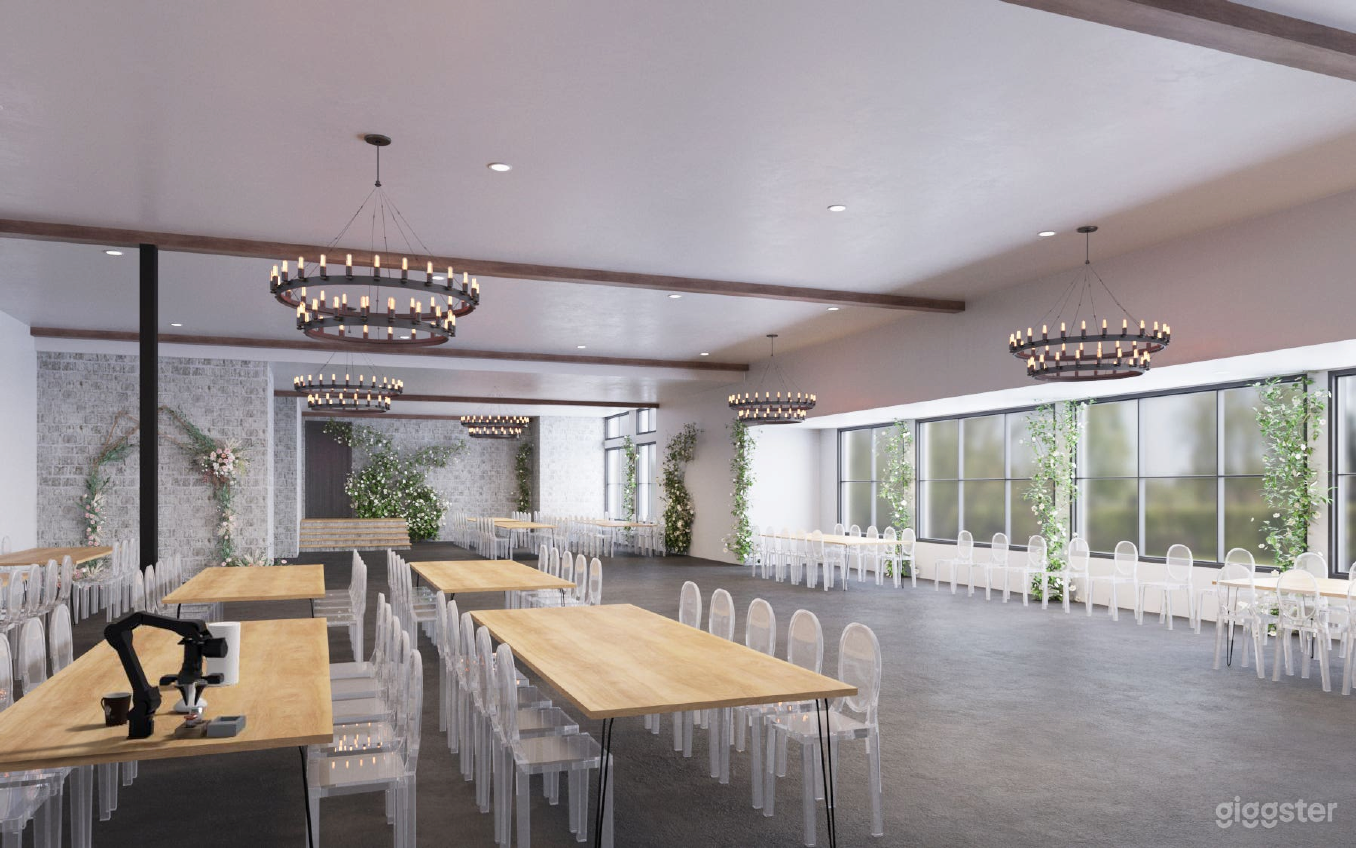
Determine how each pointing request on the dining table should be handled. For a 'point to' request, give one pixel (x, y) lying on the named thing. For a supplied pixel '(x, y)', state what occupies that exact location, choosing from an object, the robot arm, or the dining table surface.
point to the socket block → (191, 730)
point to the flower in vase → (190, 700)
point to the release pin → (190, 720)
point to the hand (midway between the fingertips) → (191, 705)
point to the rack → (226, 726)
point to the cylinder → (231, 661)
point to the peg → (199, 712)
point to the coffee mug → (116, 708)
